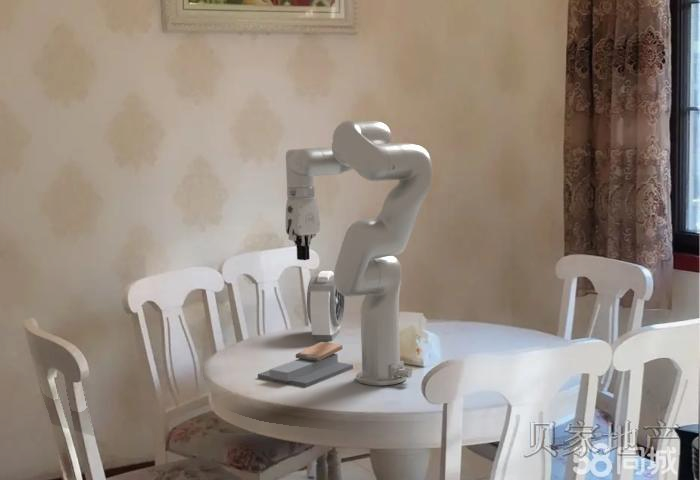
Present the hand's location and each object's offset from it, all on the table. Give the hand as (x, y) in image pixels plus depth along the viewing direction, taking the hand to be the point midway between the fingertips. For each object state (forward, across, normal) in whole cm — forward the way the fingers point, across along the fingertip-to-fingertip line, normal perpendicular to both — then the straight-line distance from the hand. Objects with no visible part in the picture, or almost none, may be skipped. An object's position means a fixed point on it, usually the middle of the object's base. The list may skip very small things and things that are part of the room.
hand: (303, 259), depth 233 cm
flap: (+22, -10, -12) cm, 27 cm away
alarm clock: (+27, +20, +8) cm, 35 cm away
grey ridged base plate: (+27, -16, -12) cm, 34 cm away
